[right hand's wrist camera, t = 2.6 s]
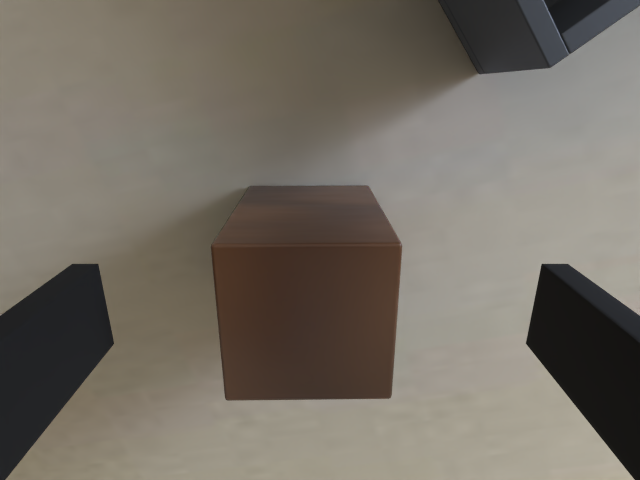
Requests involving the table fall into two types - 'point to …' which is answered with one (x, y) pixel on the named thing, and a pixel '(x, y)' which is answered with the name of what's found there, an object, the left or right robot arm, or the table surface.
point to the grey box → (529, 29)
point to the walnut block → (307, 294)
